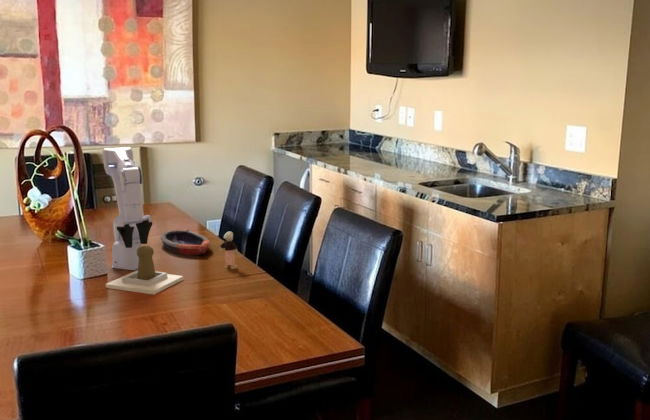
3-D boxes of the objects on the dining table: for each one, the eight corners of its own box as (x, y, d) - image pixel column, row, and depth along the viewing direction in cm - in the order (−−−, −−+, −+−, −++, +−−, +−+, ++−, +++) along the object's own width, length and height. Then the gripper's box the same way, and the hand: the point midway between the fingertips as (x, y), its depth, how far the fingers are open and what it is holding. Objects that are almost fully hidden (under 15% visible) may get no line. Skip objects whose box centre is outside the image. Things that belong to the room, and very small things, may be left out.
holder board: (105, 287, 213) (105, 279, 212) (137, 273, 227) (137, 265, 227) (154, 294, 206) (153, 286, 206) (183, 279, 221) (183, 271, 220)
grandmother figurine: (242, 266, 235) (241, 231, 232) (237, 269, 232) (236, 233, 229) (222, 264, 238) (221, 229, 235) (217, 267, 234) (215, 231, 231)
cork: (151, 283, 213) (149, 249, 210) (133, 282, 214) (131, 248, 212) (159, 277, 218) (158, 244, 216) (142, 276, 220) (140, 243, 217)
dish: (190, 238, 276) (189, 226, 275) (220, 255, 250) (220, 242, 249) (152, 243, 268) (152, 230, 267) (180, 261, 242) (179, 248, 241)
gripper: (128, 206, 212) (131, 249, 214) (157, 202, 226) (160, 242, 227) (110, 206, 215) (114, 249, 216) (139, 202, 228) (142, 242, 230)
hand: (136, 245), depth 222 cm, fingers open, 7 cm apart
